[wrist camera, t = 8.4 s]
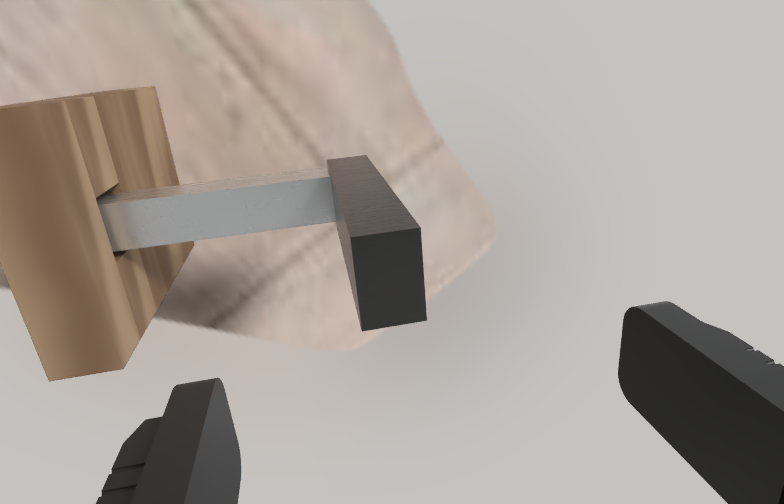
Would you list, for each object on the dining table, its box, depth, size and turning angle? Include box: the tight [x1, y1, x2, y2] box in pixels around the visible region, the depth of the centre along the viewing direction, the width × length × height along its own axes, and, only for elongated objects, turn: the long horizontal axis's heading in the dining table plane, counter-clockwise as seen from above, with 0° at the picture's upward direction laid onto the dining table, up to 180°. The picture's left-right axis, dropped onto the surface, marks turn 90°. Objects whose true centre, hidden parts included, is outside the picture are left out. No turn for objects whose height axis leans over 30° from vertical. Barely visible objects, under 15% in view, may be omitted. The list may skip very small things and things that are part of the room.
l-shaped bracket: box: [96, 155, 427, 331], centre depth 19 cm, size 14×3×12 cm, turn 95°
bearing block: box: [0, 86, 194, 381], centre depth 26 cm, size 3×11×16 cm, turn 5°
